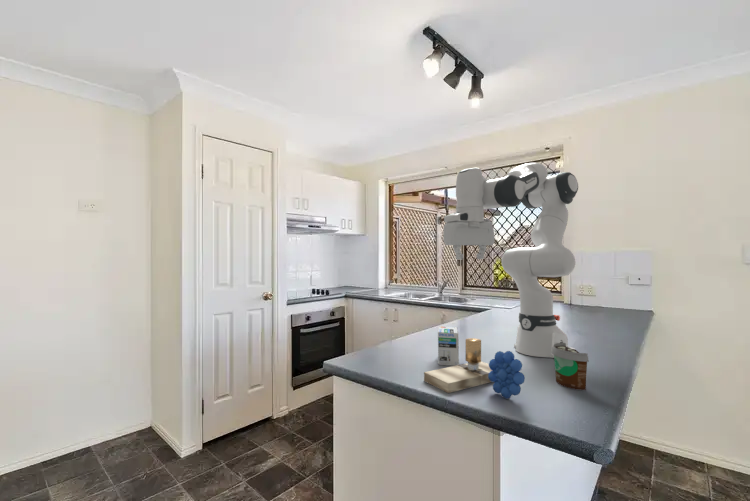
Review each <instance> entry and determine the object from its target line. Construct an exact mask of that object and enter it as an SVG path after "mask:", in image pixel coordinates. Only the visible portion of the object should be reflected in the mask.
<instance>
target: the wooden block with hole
mask: <svg viewBox="0 0 750 501" xmlns="http://www.w3.org/2000/svg"><path fill="white" fill-rule="evenodd" d="M491 371H493V370H491V369H490V367H489V363H487V362H485V361H481V362H480V363H479V371H476V372H470V371H468V362H467V363H459V365H457V366H447V367H444V368H437V369H433V370H429V371H424V372H423V381H424V382H425V383H427V384H430V385H432V386H433V387H435V388H438V389H439V390H441V391H443V392H445V393H448V394H450V393H455V392H458V391H462V390H465V389H469V388H474V387H478V386H481V385H485V384H489V383H492V382H491V381H490V380H489V378H488V374H489V372H491Z"/></svg>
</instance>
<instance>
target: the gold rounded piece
mask: <svg viewBox="0 0 750 501" xmlns="http://www.w3.org/2000/svg"><path fill="white" fill-rule="evenodd" d="M464 359H465V361H466V362H467V363H468V371H470V372H476V371H479V363H480V362H482V340H481V339H480V338H474V337H472V338H470V337H467V338H465V358H464Z"/></svg>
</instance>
